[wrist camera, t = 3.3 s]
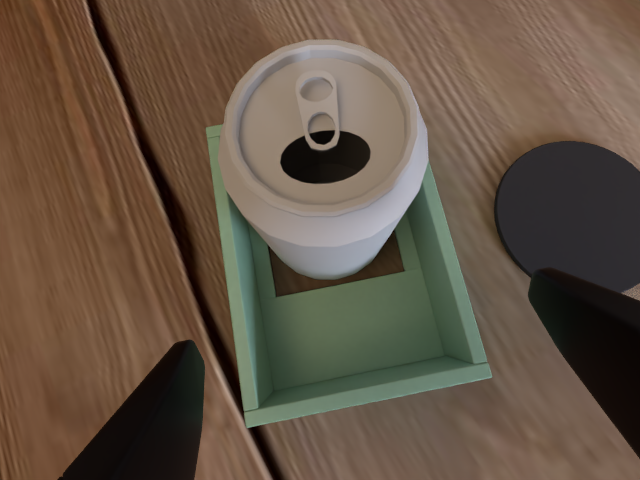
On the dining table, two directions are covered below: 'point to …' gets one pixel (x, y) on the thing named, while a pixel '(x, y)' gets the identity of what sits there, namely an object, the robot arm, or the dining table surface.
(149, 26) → the dining table surface
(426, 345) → the green open box
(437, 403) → the dining table surface
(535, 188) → the coaster
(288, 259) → the can
